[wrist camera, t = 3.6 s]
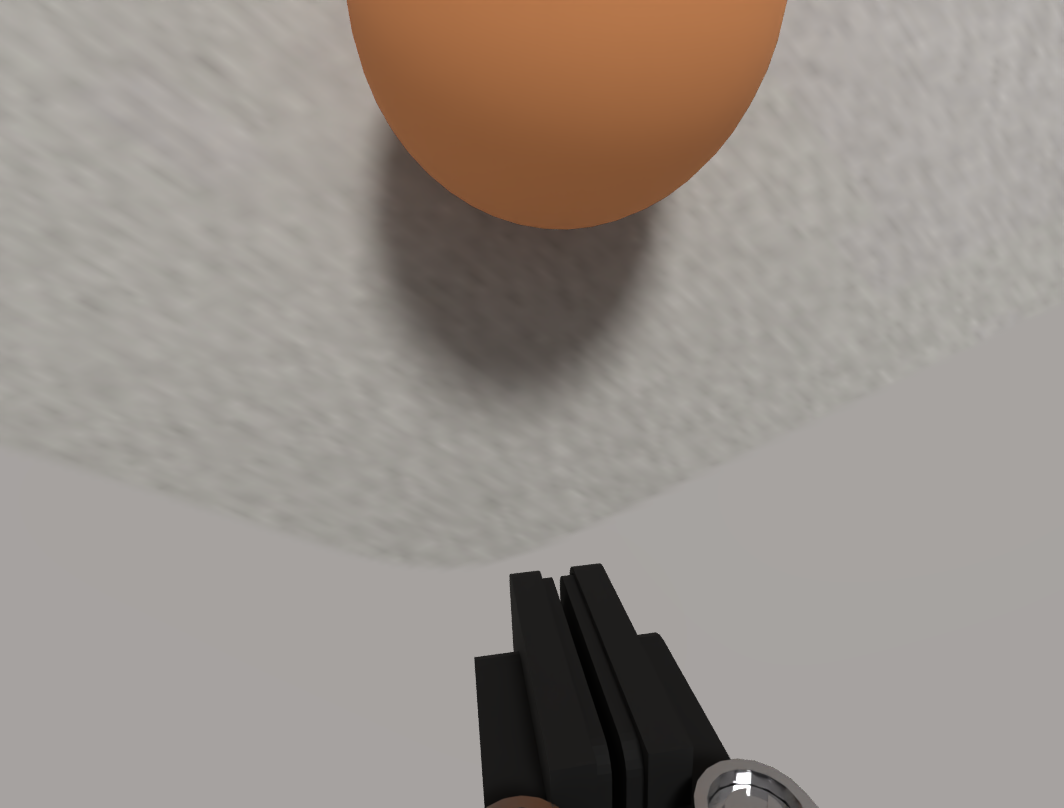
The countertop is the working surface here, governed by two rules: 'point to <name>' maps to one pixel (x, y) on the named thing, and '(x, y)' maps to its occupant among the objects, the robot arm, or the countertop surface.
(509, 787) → the robot arm
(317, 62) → the countertop surface
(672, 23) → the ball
